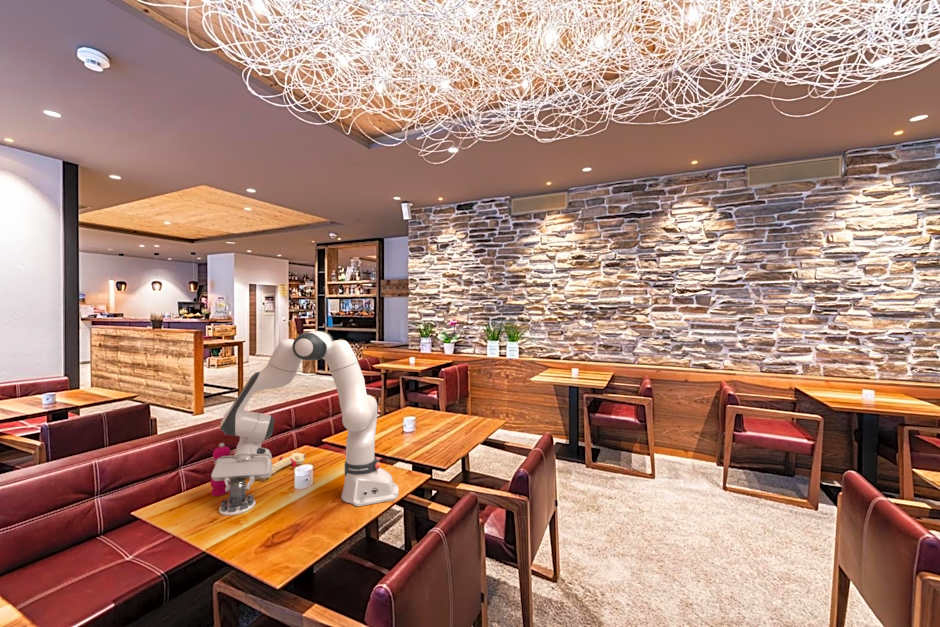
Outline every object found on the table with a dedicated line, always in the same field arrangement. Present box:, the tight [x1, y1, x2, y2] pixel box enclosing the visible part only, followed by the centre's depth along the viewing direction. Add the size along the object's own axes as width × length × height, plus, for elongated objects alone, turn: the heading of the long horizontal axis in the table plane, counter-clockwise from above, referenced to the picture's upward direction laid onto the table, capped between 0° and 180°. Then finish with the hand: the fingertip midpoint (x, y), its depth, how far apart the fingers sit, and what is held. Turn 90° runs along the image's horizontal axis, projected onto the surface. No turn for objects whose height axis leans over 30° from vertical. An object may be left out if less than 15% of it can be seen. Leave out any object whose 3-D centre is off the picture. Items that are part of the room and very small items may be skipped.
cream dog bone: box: [255, 452, 306, 483], centre depth 177 cm, size 10×9×25 cm
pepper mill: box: [210, 442, 231, 497], centre depth 155 cm, size 7×7×20 cm
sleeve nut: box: [229, 478, 247, 506], centre depth 143 cm, size 5×5×8 cm
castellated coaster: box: [218, 493, 256, 516], centre depth 144 cm, size 12×12×3 cm
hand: (237, 490), depth 143 cm, fingers closed on sleeve nut, 5 cm apart
